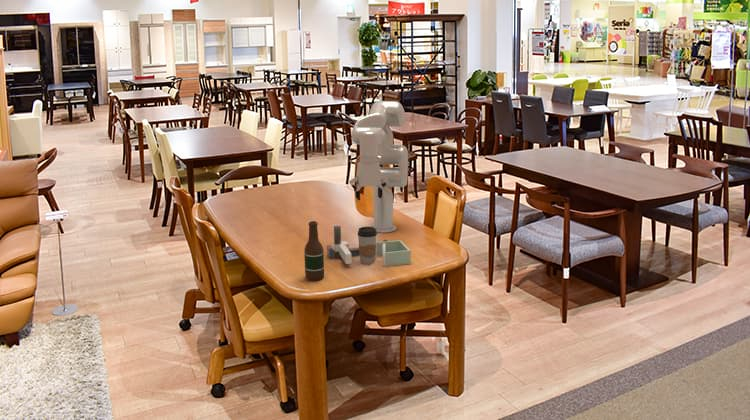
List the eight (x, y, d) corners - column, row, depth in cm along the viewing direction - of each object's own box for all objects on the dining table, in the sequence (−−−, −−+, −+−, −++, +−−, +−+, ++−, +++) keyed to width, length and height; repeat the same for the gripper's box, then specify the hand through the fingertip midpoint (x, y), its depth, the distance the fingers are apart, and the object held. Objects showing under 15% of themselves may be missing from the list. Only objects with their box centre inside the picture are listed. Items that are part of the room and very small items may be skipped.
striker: (333, 251, 312) (332, 225, 309) (346, 250, 313) (346, 224, 310) (341, 264, 296) (341, 237, 293) (355, 263, 298) (355, 236, 294)
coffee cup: (360, 266, 300) (360, 232, 295) (355, 259, 307) (355, 227, 303) (379, 264, 302) (379, 231, 298) (374, 257, 309) (373, 225, 305)
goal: (373, 255, 313) (373, 234, 310) (400, 252, 316) (400, 231, 313) (383, 266, 299) (382, 244, 296) (410, 263, 302) (410, 241, 299)
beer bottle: (324, 274, 291) (323, 219, 284) (323, 281, 283) (322, 224, 277) (305, 274, 291) (303, 219, 284) (304, 281, 283) (302, 225, 276)
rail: (327, 255, 312) (327, 245, 311) (386, 250, 319) (386, 239, 318) (329, 259, 308) (329, 248, 306) (389, 253, 314) (389, 243, 313)
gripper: (385, 156, 303) (385, 194, 308) (346, 159, 298) (347, 198, 303) (390, 160, 296) (390, 199, 301) (351, 162, 291) (352, 202, 296)
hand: (369, 198), depth 302 cm, fingers open, 9 cm apart
